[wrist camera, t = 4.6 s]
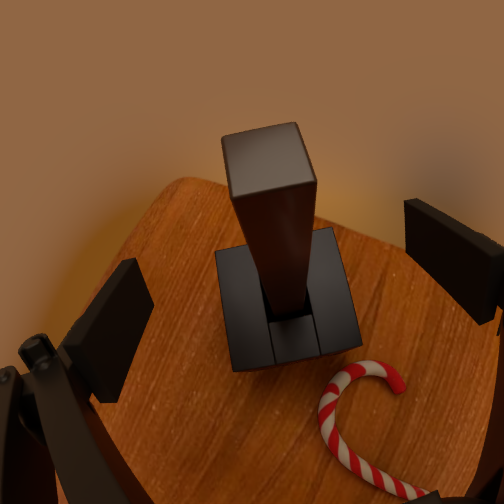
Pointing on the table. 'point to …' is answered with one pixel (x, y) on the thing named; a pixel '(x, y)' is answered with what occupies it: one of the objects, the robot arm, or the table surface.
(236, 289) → the stick stand
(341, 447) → the candy cane
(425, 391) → the table surface
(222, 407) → the table surface
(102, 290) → the robot arm
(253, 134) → the stick
